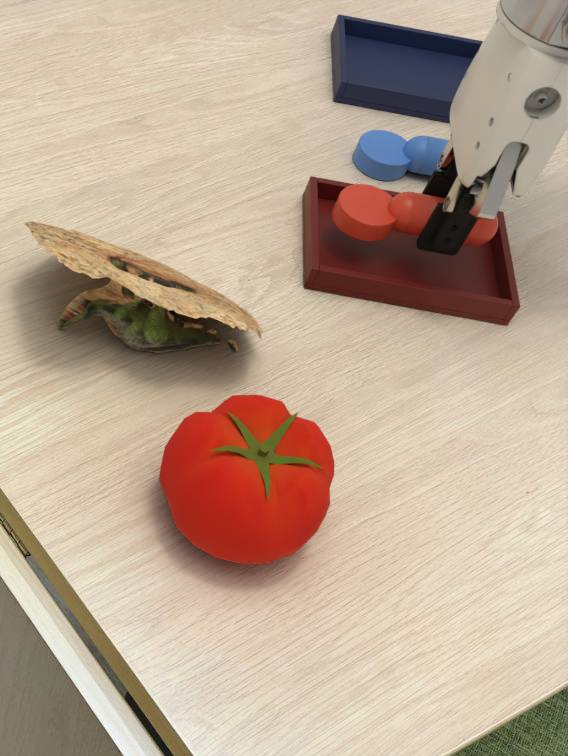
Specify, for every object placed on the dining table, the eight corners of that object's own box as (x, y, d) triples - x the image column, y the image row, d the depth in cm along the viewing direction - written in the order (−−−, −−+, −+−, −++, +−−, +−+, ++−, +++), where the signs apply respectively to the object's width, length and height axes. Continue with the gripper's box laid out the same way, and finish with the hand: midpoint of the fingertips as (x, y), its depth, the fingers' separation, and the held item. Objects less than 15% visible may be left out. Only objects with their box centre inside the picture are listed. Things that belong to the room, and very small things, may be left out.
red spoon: (482, 224, 79) (502, 193, 77) (489, 265, 77) (509, 234, 74) (330, 195, 79) (345, 163, 77) (332, 235, 77) (347, 203, 74)
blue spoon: (488, 166, 88) (505, 137, 86) (494, 201, 86) (512, 172, 83) (351, 141, 88) (364, 110, 86) (353, 175, 86) (366, 145, 83)
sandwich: (175, 326, 82) (225, 245, 78) (230, 432, 72) (291, 346, 68) (-23, 256, 75) (20, 162, 71) (8, 363, 65) (60, 262, 60)
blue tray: (492, 64, 97) (503, 44, 96) (506, 133, 91) (517, 114, 90) (330, 33, 97) (338, 13, 95) (333, 101, 91) (341, 81, 89)
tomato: (181, 596, 61) (213, 530, 55) (131, 454, 67) (155, 380, 60) (338, 570, 63) (386, 504, 57) (276, 436, 69) (314, 362, 63)
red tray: (491, 230, 84) (503, 211, 82) (507, 325, 77) (520, 306, 76) (302, 195, 83) (310, 175, 82) (303, 288, 77) (312, 268, 76)
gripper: (649, 90, 58) (491, 316, 74) (601, -51, 67) (469, 177, 83) (524, 65, 58) (392, 297, 73) (493, -73, 67) (380, 160, 82)
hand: (434, 232), depth 78 cm, fingers closed on red spoon, 3 cm apart
